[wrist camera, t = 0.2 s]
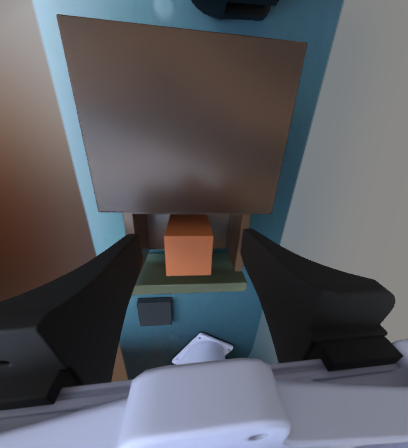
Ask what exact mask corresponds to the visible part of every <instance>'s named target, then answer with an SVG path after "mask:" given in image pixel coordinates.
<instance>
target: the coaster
mask: <svg viewBox="0 0 408 448" xmlns="http://www.w3.org/2000/svg"><path fill="white" fill-rule="evenodd" d="M137 308H138V314H139V321H140V326H155V325H172V303H171V297H163V298H139V299H138V301H137Z"/></svg>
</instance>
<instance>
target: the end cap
mask: <svg viewBox="0 0 408 448" xmlns="http://www.w3.org/2000/svg"><path fill="white" fill-rule="evenodd" d="M191 1H192V3H193V4H194V5H195V6H196V7H197V8H198V9H199V10H200V11H201V12H203V13H204V14H206V15H208V16H211V17H214V18H219V19H223V18H232V19H245V20H259V21H260V20H263V19H264V18H265V17H266V16H267V14H268V13H269V10H270V7H271V6H276V5H277V3H278V1H279V0H191Z"/></svg>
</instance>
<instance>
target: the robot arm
mask: <svg viewBox="0 0 408 448" xmlns="http://www.w3.org/2000/svg"><path fill="white" fill-rule="evenodd" d="M240 253H241V257H242V260H243V263H244V266H245V268H246V270H247V273H248V275H249V277H250V279H251V281H252V283H253V285H254V288H255V290H256V292H257V294H258V297H259V299H260V302H261V305H262V308H263V311H264V314H265V317H266V320H267V324H268V327H269V330H270V333H271V337H272V340H273V344H274V347H275V351H276V355H277V358H278V362H279V363H278V364H269V365H268V364H267V363H265V362H263V361H261V360H259V359H257V358H235V359H225V355H226V354H228V353H229V352H230V351H231V350H232V349H233V346H232V345H230V344H228V343H225V342H223V341H221V340H218V339H216V338H214V337H211V336H209V335H207V334H204V333H199V334H198V335H197V336H196V337H195V338H194V339H193V340H192V341H191V342H190V343H189V344H188V345H187V346H186V347H185V348H184V349H183V350H182V351H181V352H180V353H179V354H178V355H177V356H175V357H174V358H173V359H172V363H174V364H176V365H169V366H161V367H157V368H153V369H149V370H146V371H144V372H143V373H141V374H140V375H138V376H137V377H136V378H135V379H133V380H126V381H117V382H111V380H112V374H113V369H114V364H115V358H116V354H117V348H118V344H119V339H120V335H121V331H122V326H123V322H124V318H125V314H126V310H127V307H128V304H129V301H130V298H131V295H132V293H133V290H134V287H135V284H136V282H137V279H138V276H139V273H140V270H141V266H142V261H143V255H142V250H141V245H140V240H139V236H138V234H128V235H126V236H125V237H123V238H122V239H120V240H119V241H118V242H116V243H115V244H114V245H112V246H111V247H110V248H108V249H107V250H105V251H104V252H102V253H101V254H100V255H98V256H97V257H95V258H94V259H92V260H90V261H89V262H87V263H86V264H84V265H82V266H80V267H79V268H77V269H75V270H73V271H71V272H69V273H67V274H65V275H63V276H61V277H59V278H57V279H55V280H53V281H51V282H49V283H47V284H45V285H42V286H40V287H37V288H35V289H33V290H30V291H28V292H25V293H23V294H21V295H18V296H15V297H12V298H9V299H7V300H4V301H1V302H0V448H408V339H405V340H399V341H395V342H393V343H391V342H390V341H389V340H388V339H386V337H385V336H386V335H387V331H386V330H385V329H384V328H383V327H381V325H380V324H381V322H382V321H383V320H384V319H385V318H386V316H387V315H388V314H389V313H390V312H391V310H392V309H393V307H394V304H395V297H394V295H393V294H392V293H391V292H389V291H388V290H387V289H386V288H384V287H383V286H382V285H381V284H379V283H378V282H377V281H375V280H373V279H369V278H365V277H361V276H357V275H353V274H349V273H346V272H342V271H339V270H336V269H333V268H330V267H327V266H324V265H321V264H318V263H316V262H313V261H311V260H308V259H306V258H303V257H301V256H299V255H297V254H294V253H293V252H291V251H289V250H287V249H285V248H283V247H281V246H280V245H278V244H276V243H275V242H273V241H271V240H270V239H268V238H266V237H265V236H263V235H262V234H260V233H259V232H257V231H255V230H254V229H243V235H242V243H241V250H240Z"/></svg>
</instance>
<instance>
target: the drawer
mask: <svg viewBox="0 0 408 448" xmlns="http://www.w3.org/2000/svg"><path fill="white" fill-rule="evenodd" d="M170 214H186V215H207V216H208V219H209V223H210V226H211V229H212V233H213V236H214V237H213V249H226V250H227V253H212V265H211V275H185V276H166V262H165V254H148V253H149V250H150V249H165V245H164V235H165V231H166V228H167V224H168V221H169V217H170ZM123 218H124V225H125V231H126V235H128V234H138V236H139V240H140V245H141V250H142V255H143V261H142V266H141V270H140V273H139V276H138V279H137V282H136V284H135V287H134V290H133V293H132V295H143V294H172V293H201V292H231V291H246V287H247V281H246V279H245V277H244V274H243V272H242V268H243V260H242V257H241V253H240V250H241V243H242V235H243V229H249V224H250V218H251V214H233V213H139V212H123Z"/></svg>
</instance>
